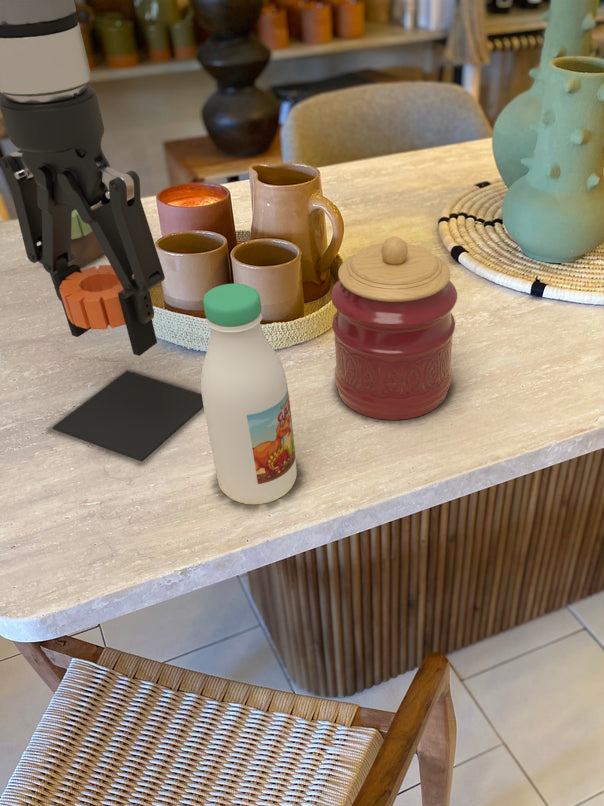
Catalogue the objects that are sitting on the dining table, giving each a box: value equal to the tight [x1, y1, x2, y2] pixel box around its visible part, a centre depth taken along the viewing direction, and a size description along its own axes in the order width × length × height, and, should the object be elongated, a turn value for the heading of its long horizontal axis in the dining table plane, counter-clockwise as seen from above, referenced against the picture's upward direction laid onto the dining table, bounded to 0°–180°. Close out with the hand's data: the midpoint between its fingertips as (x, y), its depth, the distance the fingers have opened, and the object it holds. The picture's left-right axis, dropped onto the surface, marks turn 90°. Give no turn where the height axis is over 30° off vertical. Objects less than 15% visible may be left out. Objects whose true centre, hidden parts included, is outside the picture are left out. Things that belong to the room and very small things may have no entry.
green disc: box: [71, 207, 92, 239], centre depth 107 cm, size 7×7×3 cm
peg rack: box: [68, 202, 105, 269], centre depth 110 cm, size 15×5×10 cm, turn 153°
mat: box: [52, 370, 204, 462], centre depth 83 cm, size 12×12×1 cm
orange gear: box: [59, 264, 134, 331], centre depth 74 cm, size 7×7×3 cm
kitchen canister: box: [330, 236, 458, 421], centre depth 81 cm, size 13×13×18 cm
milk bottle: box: [200, 283, 298, 505], centre depth 69 cm, size 8×8×20 cm
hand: (114, 338), depth 77 cm, fingers closed on orange gear, 7 cm apart
